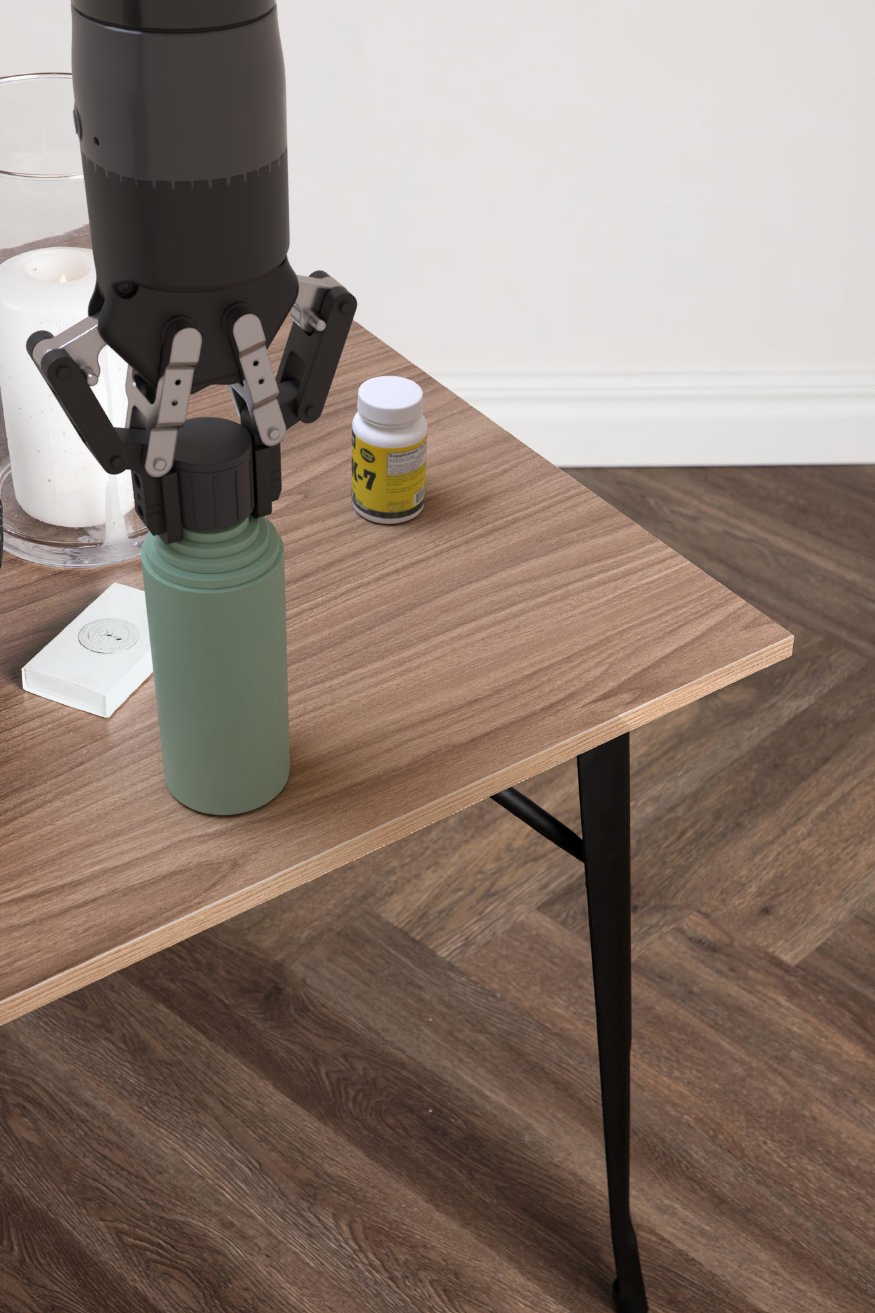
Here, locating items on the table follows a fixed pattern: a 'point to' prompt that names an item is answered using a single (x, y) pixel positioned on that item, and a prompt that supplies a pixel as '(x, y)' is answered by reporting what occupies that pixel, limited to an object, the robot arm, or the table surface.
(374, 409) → the supplement bottle
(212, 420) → the cap
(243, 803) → the water bottle
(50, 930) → the table surface
